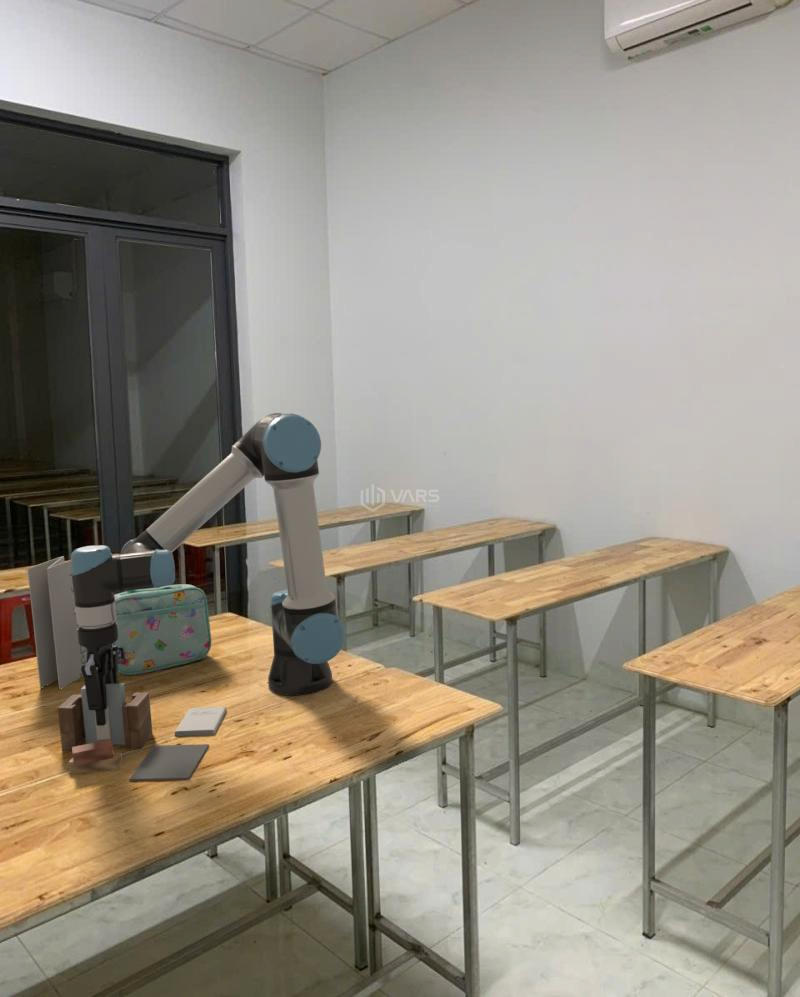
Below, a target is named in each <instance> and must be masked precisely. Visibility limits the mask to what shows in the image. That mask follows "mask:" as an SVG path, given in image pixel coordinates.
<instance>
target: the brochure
mask: <svg viewBox="0 0 800 997" xmlns="http://www.w3.org/2000/svg"><path fill="white" fill-rule="evenodd" d="M27 576H28V586H29V596H30V606H31V607H30V608H31V615H32V623H33V626H32V627H33V633H34V643H35V654H36V664H37V674H38V683H39V689H40V688H42V687H44V686H46V685H47V684H49V683H51V682H53V681H54V682H56V681H57V680H56V679H58V690H59V689H61V688H63V687H64V688H66V687H67V685H68V684H69V685H71V684H73V683H74V682H75V680H76V681H77V680H79V679H80V677H81V676H82V677H84V676H83V674H82V671H81V667H82V665H87V649H86V648H85V647H82V646H80V645H79V642H78V632H77V628H78V627H79V625H78V624H77V619H76V613H75V612H74V609H75V600H74V591H73V582H72V571H71V559H69V560H67V561H65V556H64V555H63V556H59V557H56V558H53V559H51V560H47V561H45V562H42V563H39V564H35V565H34V566H30V567H28V568H27ZM82 677H81V678H82ZM78 678H79V679H78ZM55 680H56V681H55ZM73 681H74V682H73ZM54 682H53V683H54ZM72 682H73V683H72ZM70 683H71V684H70ZM51 684H52V683H51ZM49 685H50V684H49ZM69 685H68V686H69ZM47 686H48V685H47ZM47 686H46V687H47ZM65 686H66V687H65ZM44 688H45V687H44ZM64 688H63V689H64ZM42 689H43V688H42ZM61 690H62V689H61Z"/></svg>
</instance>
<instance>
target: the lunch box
mask: <svg viewBox="0 0 800 997" xmlns="http://www.w3.org/2000/svg"><path fill="white" fill-rule="evenodd" d="M114 597H115V605H116V615H117V619H116V620H115V622H116V623H117V629H118V640H117V641H116V642H114V643H112V646H118V655H117V663H118V673H119V674H122V675H125V676H126V675H127V676H128V675H141V674H146V673H151V672H156V671H157V672H158V671H159V670H164V669H165V670H166V669H169V668H173V667H177V666H180V665H186V664H189V663H193V662H195V661H198V660H201V659H203V658H205V657H206V656H207V655H209V652H210V651H211V648H212V633H211V624H210V616H209V615H210V614H209V607H208V599H207V596H206V593H205V591H204V590H203V589H201V588H199V587H196V586H195V585H192V584H187V583H186V584H185V583H183V584H181V583H180V584H179V583H178V584H172V585H168V586H163V587H160V588H148V589H139V590H130V591H122V592H118V593H115V594H114Z"/></svg>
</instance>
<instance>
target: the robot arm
mask: <svg viewBox="0 0 800 997" xmlns="http://www.w3.org/2000/svg"><path fill="white" fill-rule="evenodd" d="M321 450H322V440H321V436H320V433H319V431H318V429H317V428H316V426H315V425H314V423H312V422H311V421H310V420H308V419H306V418H305V417H303V416H301V415H299V414H295V413H279V412H274V413H270V414H267V415H265V416H263V417H261V418H260V419H259V420H257V421H256V423H254V425H252V427H250V428H249V430H247V431H246V433H245V434H243V436H242V437H241V438H239V439H238V440H237V441H236V442H235V443H234V444H233V445H231V453H230V454H229V455H227V457H226V458H224V459H223V460H222V461H220V463H218V465H217V466H215V467H214V468H213V469H212V470H210V471H209V473H207V474H206V475H205V476H204V477H202V479H201V480H199V481H198V482H197V483H196V484H195V485H194V486H193V487H192V488H191V489H190V490H188V491H187V492H186V493H185V494H184V495H183V496H181V497H180V498H179V499H178V500H177V501H176V502H175V503H174V504H172V506H171V507H169V508H168V509H167V510H166V511H165V512H164V513H162V514H161V515H160V516H159V518H157V519H156V520H155V521H154V522H153V523H151V524H150V526H148V527H147V528H146V529H145V530H144V531H143V532H141V533H140V534H139V535H138V536H137V537H136V538H133V539H130V540H129V541H127V542H126V543H125V544H124V545H123V546H122V548H121V551H120V554H112V552H111V549H110V547H109V546H108V545H101V544H100V545H86V546H82V547H79V548H75V549H74V550H73V551H72V553H71V554H70V560H71V571H72V582H73V591H74V600H75V609H74V612H75V613H76V619H77V624H78V625H79V627H78V628H77V632H78V642H79V645H80V646H82V647H85V648H86V649H87V665H82V667H81V671H82V674H83V676H82V677H83V681H84V686H85V688H86V695H87V701H88V708H89V710H94V711H95V722H96V732H97V740H105V739H111V738H112V734H111V724H110V713H109V707H107V701H106V684H119V672H118V663H117V655H118V646H112V643H114V642H116V641H117V640H118V629H117V623H116V622H115V620H116V619H117V615H116V605H115V597H114V595H115V594H116V593H122V592H127V591H130V590H139V589H148V588H160V587H163V586H168V585H174V583H175V581H176V567H175V560H174V554H173V552H174V551H175V550H177V549H178V548H179V547H180V546H181V545H182V544H183V543H184V542H186V540H188V538H190V537H191V536H192V535H193V534H194V533H195V532H196V531H197V530H199V529H200V528H201V527H202V526H203V525H204V524H206V523H207V521H209V520H210V519H211V518H212V517H213V516H215V514H217V512H219V511H220V510H221V509H222V508H223V507H224V506H225V505H226V504H228V503H229V501H231V500H232V499H233V498H234V497H235V496H237V494H239V493H240V492H241V491H242V490H243V489H244V488H245V487H247V486H248V485H249V483H251V482H252V481H253V480H254V479H256V478H257V479H262V478H263V477H264V482H265V483H267V484H268V485H269V486H271V487H272V490H273V498H274V504H275V511H276V518H277V525H278V532H279V540H280V546H281V547H280V548H281V553H282V560H283V569H284V576H285V577H284V578H285V584H286V589H284V590H283V589H281V590H279V591H276V592H273V594H272V595H271V597H270V605H269V608H270V612H271V627H272V642H273V658H272V662H271V666H270V668H269V673H268V676H267V679H268V680H267V681H268V682H267V683H268V689H269V690H270V691H271V692H273V693H275V694H277V695H278V694H279V695H283V696H286V695H287V696H302V695H305V696H306V695H310V694H314V693H318V692H321V691H324V690H326V689H327V688H329V687H330V686H331V685H332V684H333V672H332V670H331V667H330V664H329V661H331V660H333V659H334V658H336V656H337V655H338V654H339V652H340V651H342V648H343V647H344V645H345V642H346V641H345V640H346V629H345V627H344V624H343V622H342V620H341V618H339V616H338V610H337V609H338V608H337V604H336V603H337V602H336V595H335V594H334V593H333V592H331V591H330V590H328V588H327V587H328V586H327V579H326V571H325V563H324V558H323V557H324V556H323V549H322V540H321V539H322V538H321V535H320V526H319V525H320V524H319V517H318V510H317V501H316V496H315V495H316V494H315V487H314V483H315V482H314V481H315V480H316V479H317V478H318V477H319V475H320V470H319V462H318V459H319V456H320V454H321Z"/></svg>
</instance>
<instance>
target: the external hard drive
mask: <svg viewBox="0 0 800 997" xmlns="http://www.w3.org/2000/svg"><path fill="white" fill-rule="evenodd" d="M226 712H227V707H226V706H204V707H190V708H189V709H188V711H187V712H186V714H185V715H184V716H183V718H182V720H181V722H180V723H179V725H178V726H177V727H176V729H175V731H174V736H175V737H179V736H181V737H183V736H203V735H205V736H206V735H215V734H216V732H217V730H218V728H219V726H220V724H221V722H222V720H223V719H224V717H225V715H226Z"/></svg>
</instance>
